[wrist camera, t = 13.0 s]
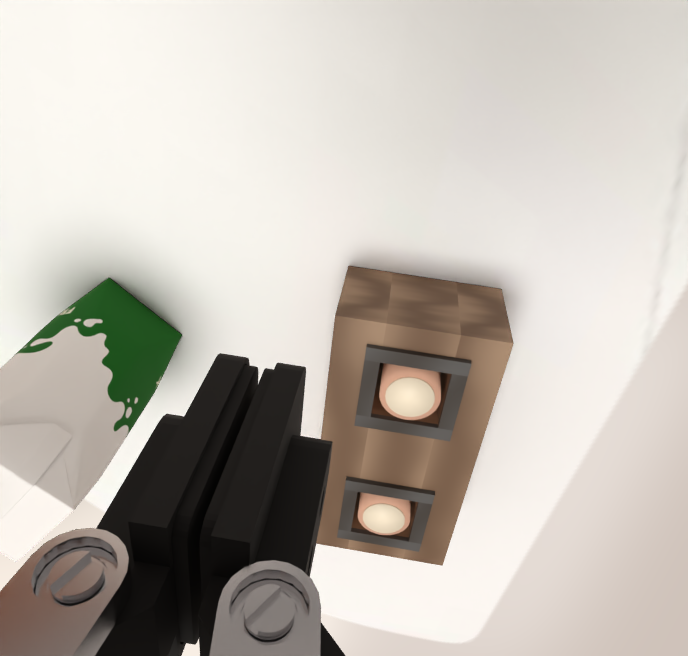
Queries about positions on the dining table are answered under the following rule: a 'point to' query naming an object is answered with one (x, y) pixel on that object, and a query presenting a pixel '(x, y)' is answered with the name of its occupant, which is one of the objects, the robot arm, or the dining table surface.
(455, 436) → the walnut block
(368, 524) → the peg
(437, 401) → the peg
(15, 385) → the milk carton
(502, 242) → the dining table surface
